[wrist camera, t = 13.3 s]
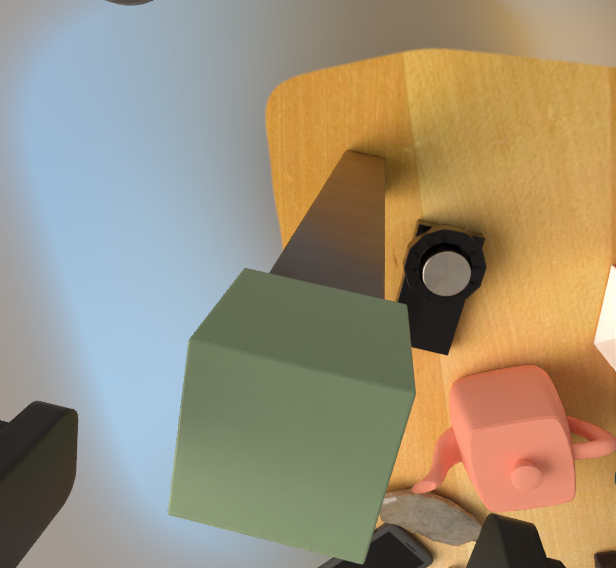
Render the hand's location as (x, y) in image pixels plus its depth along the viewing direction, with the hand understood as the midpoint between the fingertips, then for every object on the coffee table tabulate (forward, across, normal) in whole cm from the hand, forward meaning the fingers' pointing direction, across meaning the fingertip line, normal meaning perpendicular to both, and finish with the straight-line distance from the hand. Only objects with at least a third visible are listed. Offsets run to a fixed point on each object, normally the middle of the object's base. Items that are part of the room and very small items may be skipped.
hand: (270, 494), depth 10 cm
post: (+42, 0, 0) cm, 42 cm away
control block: (+42, -9, +9) cm, 44 cm away
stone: (+40, -15, +37) cm, 57 cm away
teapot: (+42, -19, +21) cm, 50 cm away
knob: (+39, -9, +6) cm, 40 cm away
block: (+6, 0, 0) cm, 6 cm away
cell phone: (+42, -11, +45) cm, 62 cm away
